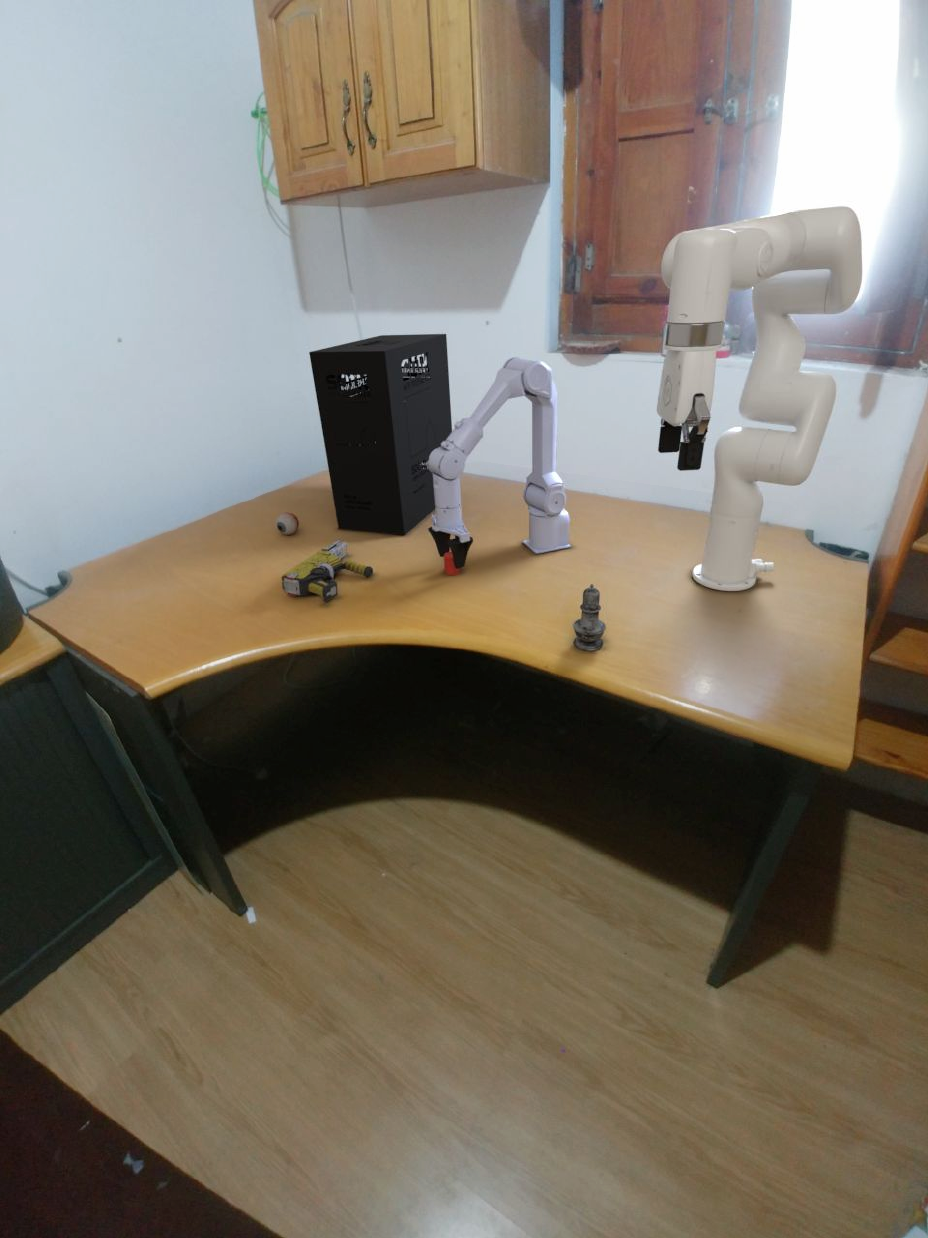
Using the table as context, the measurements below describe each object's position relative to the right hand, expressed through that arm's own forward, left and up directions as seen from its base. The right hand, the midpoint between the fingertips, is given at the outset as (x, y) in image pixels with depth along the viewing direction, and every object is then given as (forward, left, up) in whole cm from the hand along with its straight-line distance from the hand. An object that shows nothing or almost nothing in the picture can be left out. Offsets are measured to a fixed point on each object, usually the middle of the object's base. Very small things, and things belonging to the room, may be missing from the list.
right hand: (678, 460), depth 91 cm
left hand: (+37, -35, -31) cm, 60 cm away
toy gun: (+63, -34, -34) cm, 79 cm away
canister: (+37, -35, -34) cm, 61 cm away
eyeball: (+82, -64, -34) cm, 109 cm away
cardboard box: (+53, -80, -34) cm, 101 cm away
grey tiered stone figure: (+11, -2, -34) cm, 36 cm away
